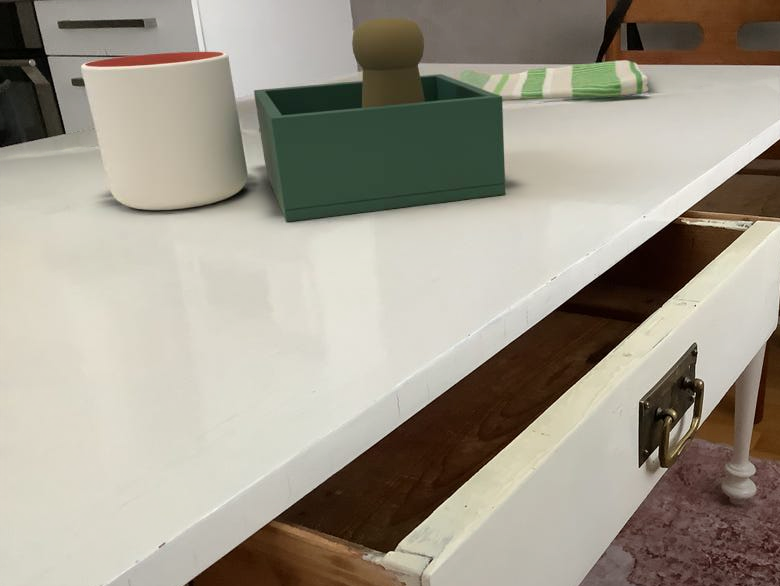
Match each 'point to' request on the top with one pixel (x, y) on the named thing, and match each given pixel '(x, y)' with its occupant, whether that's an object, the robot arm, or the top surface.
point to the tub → (379, 147)
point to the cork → (389, 61)
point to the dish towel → (564, 81)
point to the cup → (167, 128)
